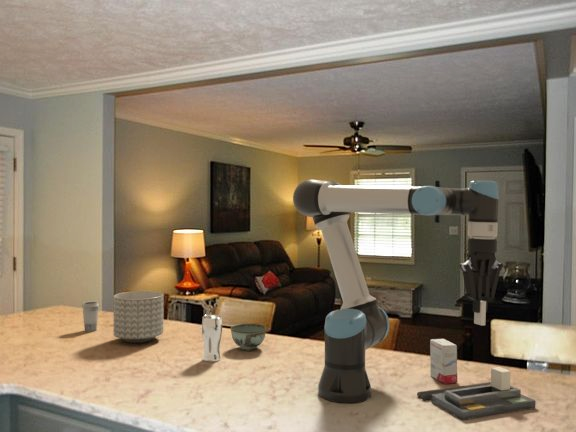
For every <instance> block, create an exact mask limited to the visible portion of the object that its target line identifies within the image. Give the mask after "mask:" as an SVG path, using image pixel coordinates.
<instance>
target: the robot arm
mask: <svg viewBox="0 0 576 432" xmlns="http://www.w3.org/2000/svg"><path fill="white" fill-rule="evenodd" d="M499 201H500V197H499V184H498V183H497V181H494V180H471V181H470V182H469V186H468V187H465V188H462V187H461V188H459V187H458V188H457V187H455V188H453V187H452V188H451V187H439V186H435V185H423V186H414V185H413V186H411V185H410V186H409V185H406V186H405V185H404V186H403V185H396V186H394V185H342V184H340V183H338V182H336V181H332V180H319V179H307V180H304V181H302V182H300V183H299V184H298V185H297V186H296V188H295V189H294V192H293V196H292V203H293V205H294V207H295V209H296V211H297V212H298V213H300V215H303V216H305V217H309V218H312V221H313V224H314V227H315V228H316V229H319V230H320V231H321V234H322V237H323V240H324V243H325V246H326V250H327V253H328V257H329V260H330V263H331V266H332V269H333V273H334V276H335V279H336V283H337V286H338V289H339V293H340V296H341V300H342V305H341V306H340V309H335V310H332V311H330V312H329V313H328V314H327V315H326V317H325V320H324V321H325V322H324V326H323V328H324V366H323V369H322V373H321V376H320V379H319V382H318V384H317V385H318V387H317V388H318V389H317V393H318V395H319V396H320V398H323V399H324V400H328V401H329V402H330V401H331V402H335V403H342V404H355V403H356V404H357V403H361V402H364V401H367V400H369V399H370V398H372V385H371V382H370V379H369V376H368V372H367V370H366V351H367V350H369V348H371V347H374V346H377V345H379V344H380V343H381V342H382V341H383V340H384V339H385V338H386V337H387V335H388V333H389V331H390V319H389V316H388V314H387V312H386V311H385V310H383V309H382V308H381V307H380V306H379V304H378V301H377V298H376V297H374V296H372V295H371V294H370V291H369V288H368V284H367V281H366V279H365V275H364V272H363V269H362V265H361V263H360V260H359V257H358V253H357V250H356V248H355V244H354V240H353V237H352V235H351V234H352V233H351V231H350V229H349V224H348V220H349V218H350V216H351V215H350V213H364V214H365V213H367V214H391V215H393V214H396V215H414V216H415V215H416V216H418V215H419V216H426V217H428V216H429V217H432V216H467V217H468V220H467V236H469V237H468V239H467V246H466V247H467V249H466V250H467V251H468V256H467V259H466V261H465V262H463V263H462V262H461V263H459V268H460V270H461V273H462V276H463V277H462V278H463V282H464V287H465V289H464V290H465V294H466V298H469V299H470V300H472V312H473V313H474V314H473V315H474V316H473V324H475V325H479V326H486V322H487V321H486V318H487V317H486V315H487V314H486V313H487V312H488V310H489V309H488V307H489V305H488V304H489V302H491V301H492V299H494V298H495V295H496V291H497V286H498V282H499V277H500V274H501V270H502V269H503V267H504V264H503V263H502V262H501V263H500V262H499V261H497V257H496V254H497V251H498V240H497V239H496V238H497V236H498V230H499V229H498V227H499V225H498V221H499V220H498V219H499V218H498V217H499V204H500V203H499Z"/></svg>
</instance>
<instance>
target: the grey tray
mask: <svg viewBox="0 0 576 432" xmlns="http://www.w3.org/2000/svg"><path fill="white" fill-rule="evenodd" d="M521 392H522V391H521V389H519V388H518V387H515V386H513V385H511V384H510V389H509V390H503V391H496V392H491V384H490V385H483V386H475V387H468V388H461V389H454V390H447V391H445V393H439V394H432V395H431V399H430V400H431V403H433V404H434V405H436V406H438V407H440V409H443V410H444V411H446V412H448V413H450V414H451V415H453V416H455V417H456V418H458V419H460V420H462V421H466V420H472V419H478V418H484V416H485V417H490V415H491V416H494V415H495V416H496V415H503V414H505V413H506V414H508V413H513V411H514V412H520V411H525V409H526V410H531V409H530V408H532V409H535V408H536V400H535V399H533V398H530V397H528V396H527V395H524V394H522V393H521ZM519 410H520V411H519ZM507 412H508V413H507Z"/></svg>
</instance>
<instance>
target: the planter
mask: <svg viewBox="0 0 576 432" xmlns="http://www.w3.org/2000/svg"><path fill="white" fill-rule="evenodd" d="M164 302H165V301H164V293H162V292H159V291H152V290H137V291H136V290H135V291H125V292H119V293H116V294H114V295H113V336H114V337H115V338H118V339H121V340H122V341H125V342H127V343H129V344H144V343H147V342H149V341H153V339H155V338H156V337H158V336H160V335H162V334H163V333H164V305H165V304H164Z"/></svg>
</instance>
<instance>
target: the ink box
mask: <svg viewBox="0 0 576 432" xmlns="http://www.w3.org/2000/svg"><path fill="white" fill-rule="evenodd" d="M429 342H430V343H429V348H430V353H429V354H430V355H429V356H430V357H429V358H430V359H429V360H430V363H429V364H430V366H429V367H430V368H429V371H430V377H432V378H433V379H435V380H437V381H439V382H441V383H442V384H445V385H446V384H454V383H458V351H457V350H458V347H457V344H455V343H453V342H451V341H449V340H447V339H445V338H432V339H430V341H429Z"/></svg>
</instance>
